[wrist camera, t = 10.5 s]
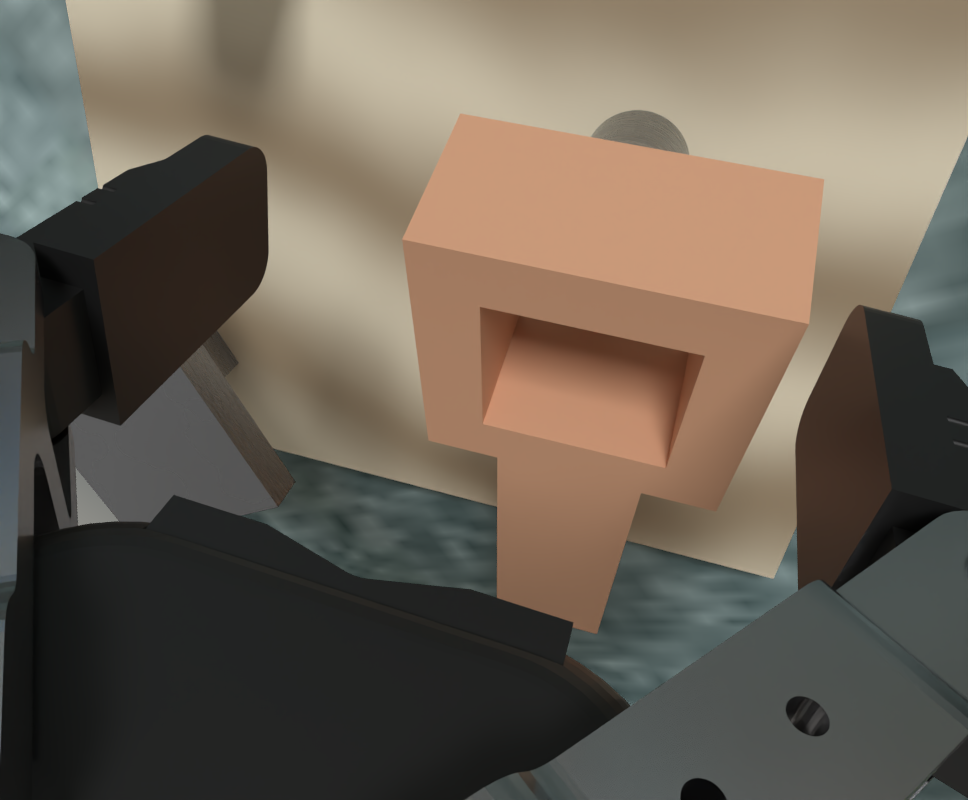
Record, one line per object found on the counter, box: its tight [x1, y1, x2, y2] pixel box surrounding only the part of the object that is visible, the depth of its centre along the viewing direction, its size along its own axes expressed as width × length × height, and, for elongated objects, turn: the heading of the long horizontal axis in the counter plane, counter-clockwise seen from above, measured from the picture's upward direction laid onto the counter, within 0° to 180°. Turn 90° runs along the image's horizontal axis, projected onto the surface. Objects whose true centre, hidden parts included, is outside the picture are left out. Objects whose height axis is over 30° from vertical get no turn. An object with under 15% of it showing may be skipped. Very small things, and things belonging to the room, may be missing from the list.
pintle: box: [591, 110, 689, 155], centre depth 18 cm, size 2×2×5 cm
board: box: [66, 0, 968, 579], centre depth 22 cm, size 19×21×1 cm
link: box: [402, 113, 824, 634], centre depth 19 cm, size 15×6×3 cm, turn 175°
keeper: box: [70, 331, 295, 522], centre depth 23 cm, size 5×7×5 cm
